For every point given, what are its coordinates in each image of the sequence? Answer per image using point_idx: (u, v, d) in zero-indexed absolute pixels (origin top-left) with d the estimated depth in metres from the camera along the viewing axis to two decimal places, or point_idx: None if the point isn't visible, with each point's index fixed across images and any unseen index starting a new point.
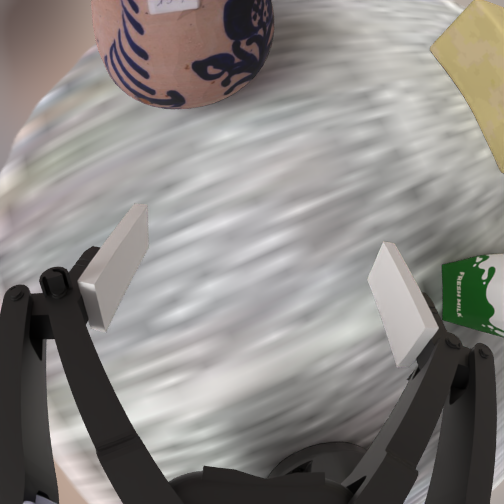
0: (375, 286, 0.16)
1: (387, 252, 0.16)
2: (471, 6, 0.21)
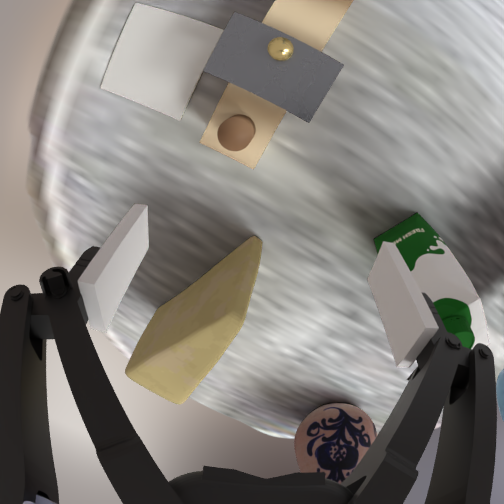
0: (375, 286, 0.16)
1: (387, 252, 0.16)
2: None
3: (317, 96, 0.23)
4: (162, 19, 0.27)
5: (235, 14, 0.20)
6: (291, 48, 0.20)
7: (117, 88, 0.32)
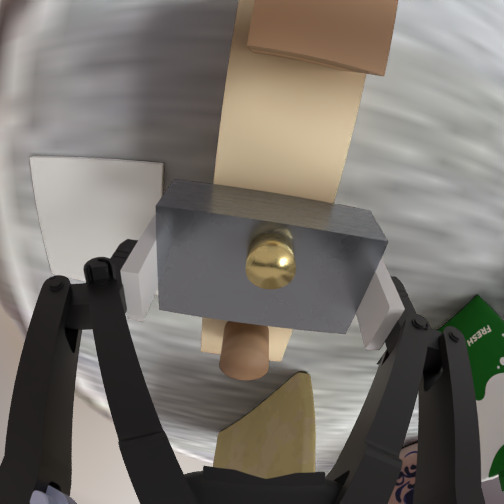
0: None
1: None
2: None
3: (351, 301, 0.15)
4: (73, 173, 0.20)
5: (160, 210, 0.13)
6: (291, 264, 0.12)
7: (71, 272, 0.26)
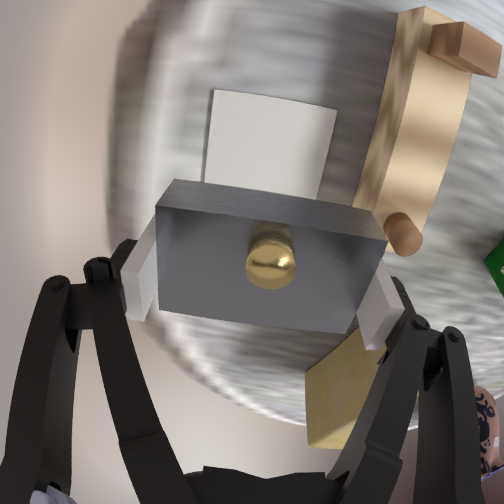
0: None
1: None
2: None
3: (352, 301, 0.15)
4: (260, 107, 0.28)
5: (159, 209, 0.12)
6: (291, 264, 0.12)
7: None
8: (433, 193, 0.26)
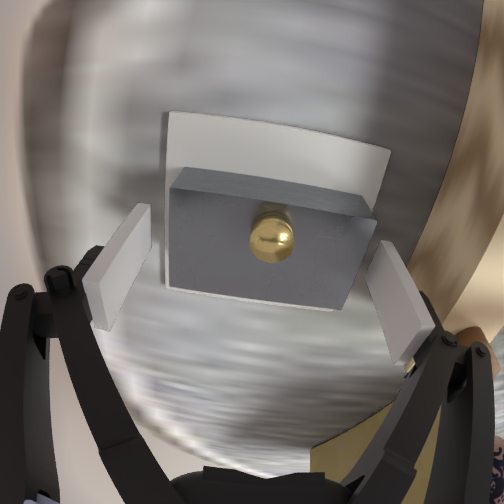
0: (373, 284, 0.17)
1: (384, 250, 0.16)
2: None
3: (346, 277, 0.16)
4: (253, 143, 0.16)
5: (173, 191, 0.14)
6: (290, 239, 0.14)
7: None
8: None
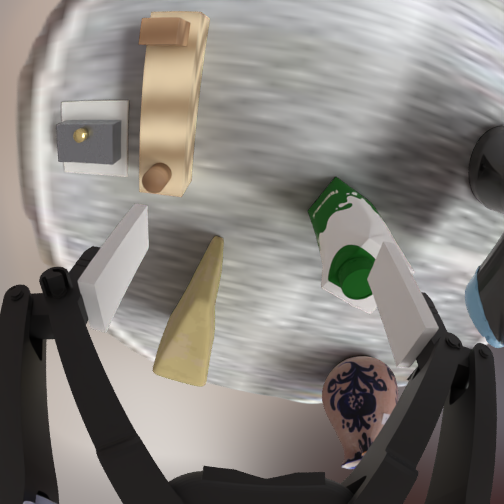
0: (375, 286, 0.16)
1: (387, 252, 0.16)
2: (206, 379, 0.52)
3: (109, 148, 0.39)
4: (84, 108, 0.38)
5: (57, 125, 0.37)
6: (82, 133, 0.36)
7: (76, 168, 0.44)
8: (182, 144, 0.36)
